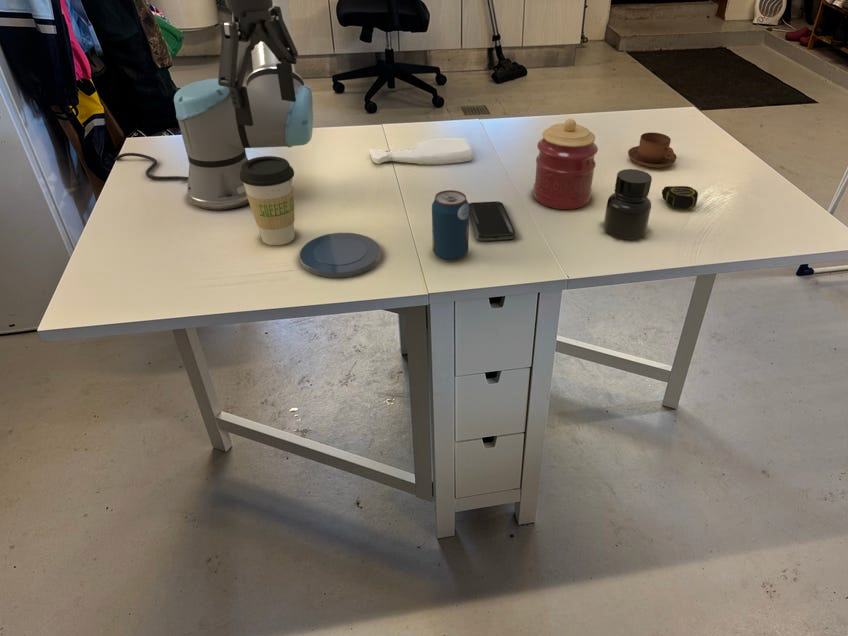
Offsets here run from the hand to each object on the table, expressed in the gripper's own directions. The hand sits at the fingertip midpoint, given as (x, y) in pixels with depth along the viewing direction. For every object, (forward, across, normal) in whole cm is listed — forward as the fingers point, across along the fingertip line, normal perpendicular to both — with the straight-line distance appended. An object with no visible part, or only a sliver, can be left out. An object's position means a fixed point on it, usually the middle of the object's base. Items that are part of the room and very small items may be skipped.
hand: (268, 112), depth 121 cm
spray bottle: (+23, +42, -11) cm, 50 cm away
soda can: (+23, +2, -36) cm, 42 cm away
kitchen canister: (+23, +35, -49) cm, 65 cm away
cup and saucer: (+23, +64, -65) cm, 94 cm away
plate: (+22, -8, -17) cm, 29 cm away
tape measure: (+23, +42, -74) cm, 88 cm away
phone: (+23, +17, -38) cm, 48 cm away
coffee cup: (+23, -6, -2) cm, 24 cm away
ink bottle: (+23, +25, -65) cm, 74 cm away
